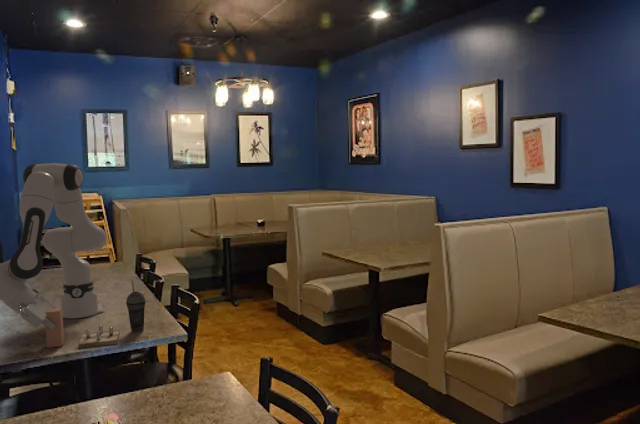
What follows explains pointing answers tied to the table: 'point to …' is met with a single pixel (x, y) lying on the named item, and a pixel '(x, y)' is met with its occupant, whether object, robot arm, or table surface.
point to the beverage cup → (136, 310)
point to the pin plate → (99, 337)
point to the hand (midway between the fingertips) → (56, 324)
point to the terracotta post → (57, 334)
